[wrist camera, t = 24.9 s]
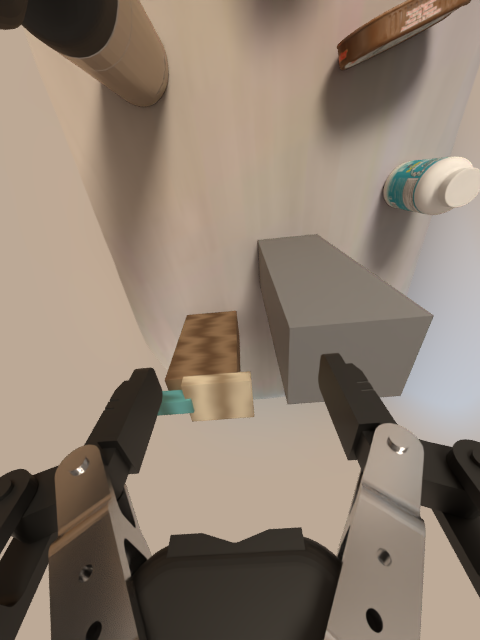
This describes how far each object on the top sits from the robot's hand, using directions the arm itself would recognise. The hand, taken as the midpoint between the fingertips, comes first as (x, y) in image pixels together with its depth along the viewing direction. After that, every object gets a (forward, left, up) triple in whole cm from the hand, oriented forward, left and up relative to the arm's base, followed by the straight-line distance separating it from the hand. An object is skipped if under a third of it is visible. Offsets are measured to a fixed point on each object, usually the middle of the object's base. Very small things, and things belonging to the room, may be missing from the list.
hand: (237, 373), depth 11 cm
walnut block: (+5, -24, -40) cm, 47 cm away
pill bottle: (+25, +19, -40) cm, 51 cm away
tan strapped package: (+3, -25, -19) cm, 32 cm away
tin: (+9, +31, -40) cm, 52 cm away
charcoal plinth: (+13, -2, -40) cm, 42 cm away
